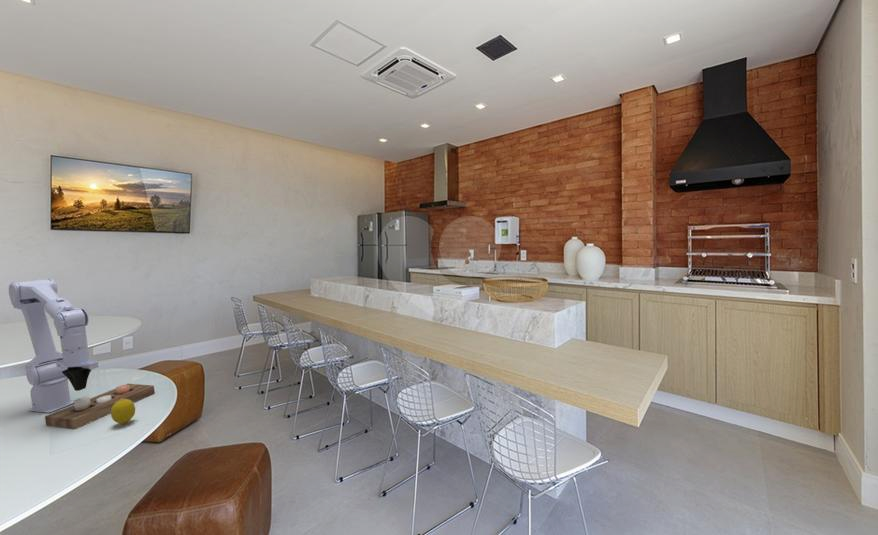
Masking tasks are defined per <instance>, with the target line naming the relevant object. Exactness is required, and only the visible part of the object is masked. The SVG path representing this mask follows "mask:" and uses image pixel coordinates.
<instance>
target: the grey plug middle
mask: <svg viewBox="0 0 878 535" xmlns="http://www.w3.org/2000/svg"><path fill="white" fill-rule="evenodd" d="M96 400H97V403H103V402H106V401H108V400H111V395H107V396H102V397H100V398H98V399H96Z"/></svg>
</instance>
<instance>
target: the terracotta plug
mask: <svg viewBox="0 0 878 535" xmlns="http://www.w3.org/2000/svg"><path fill="white" fill-rule="evenodd" d="M115 389H116V394H117V395H123V394H125V393H127V392H130V385H126V384H122V385H118V386H117V387H116V388H115Z"/></svg>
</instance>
